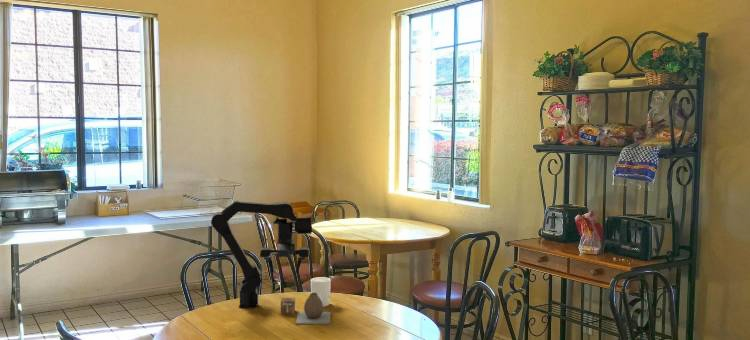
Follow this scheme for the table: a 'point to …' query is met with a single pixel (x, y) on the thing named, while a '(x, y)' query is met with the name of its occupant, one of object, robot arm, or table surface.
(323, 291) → the white cup
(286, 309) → the letter cube
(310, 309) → the vase
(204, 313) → the table surface
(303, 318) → the grey mat
